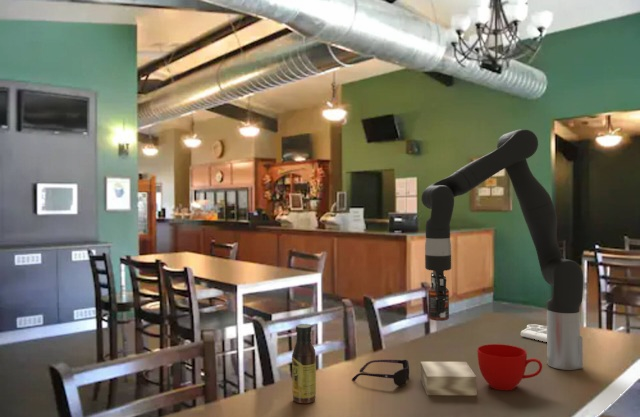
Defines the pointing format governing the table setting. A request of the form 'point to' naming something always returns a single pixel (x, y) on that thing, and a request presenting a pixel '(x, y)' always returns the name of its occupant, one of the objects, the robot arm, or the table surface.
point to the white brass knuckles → (535, 332)
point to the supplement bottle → (432, 306)
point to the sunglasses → (398, 377)
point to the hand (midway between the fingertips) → (438, 310)
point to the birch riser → (448, 378)
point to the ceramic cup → (504, 365)
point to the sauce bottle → (303, 366)
